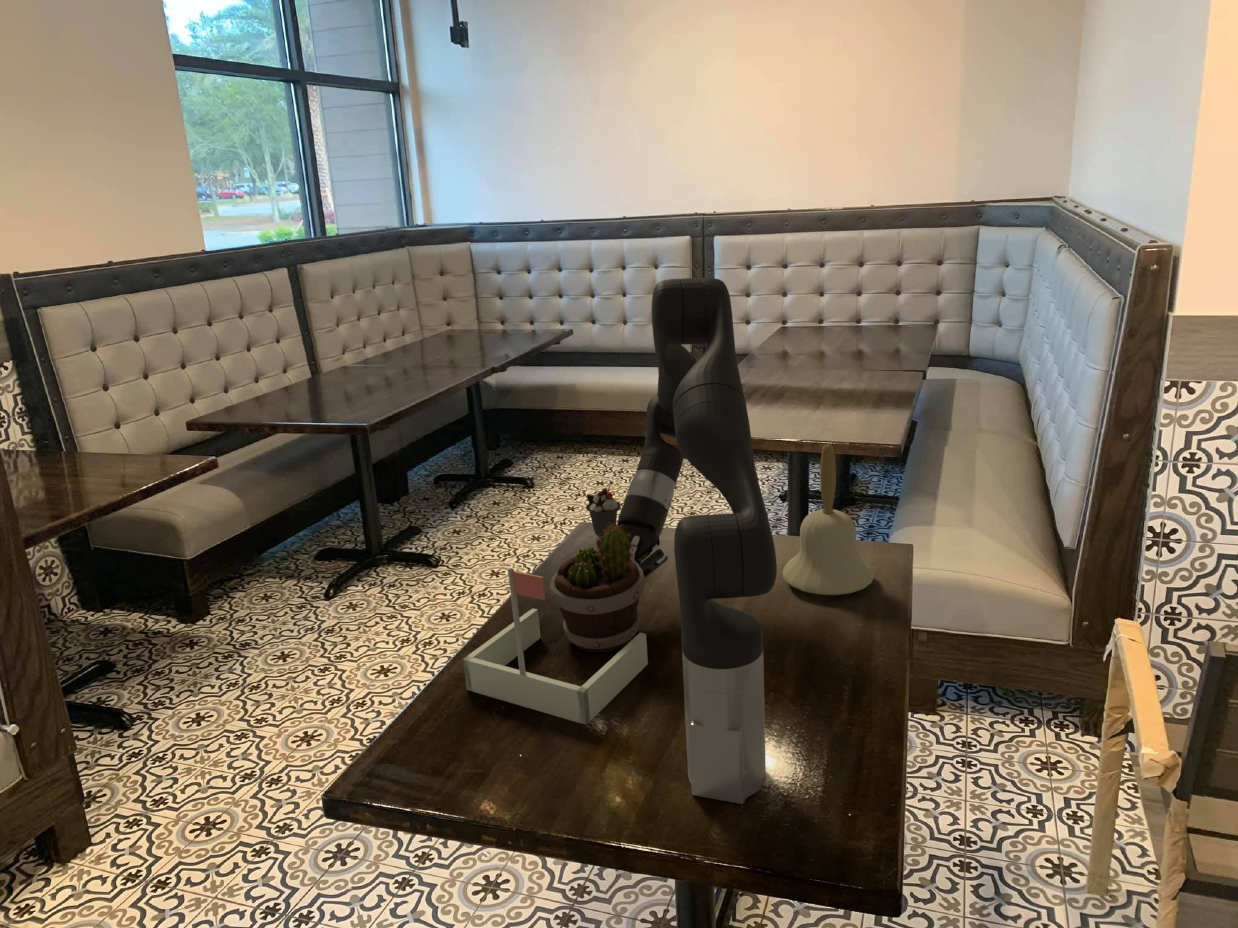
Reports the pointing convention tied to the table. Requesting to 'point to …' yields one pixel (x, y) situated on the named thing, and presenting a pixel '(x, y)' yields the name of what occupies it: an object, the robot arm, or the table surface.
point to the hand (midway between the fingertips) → (614, 600)
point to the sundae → (603, 510)
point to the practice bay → (538, 691)
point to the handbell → (828, 545)
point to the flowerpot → (600, 593)
